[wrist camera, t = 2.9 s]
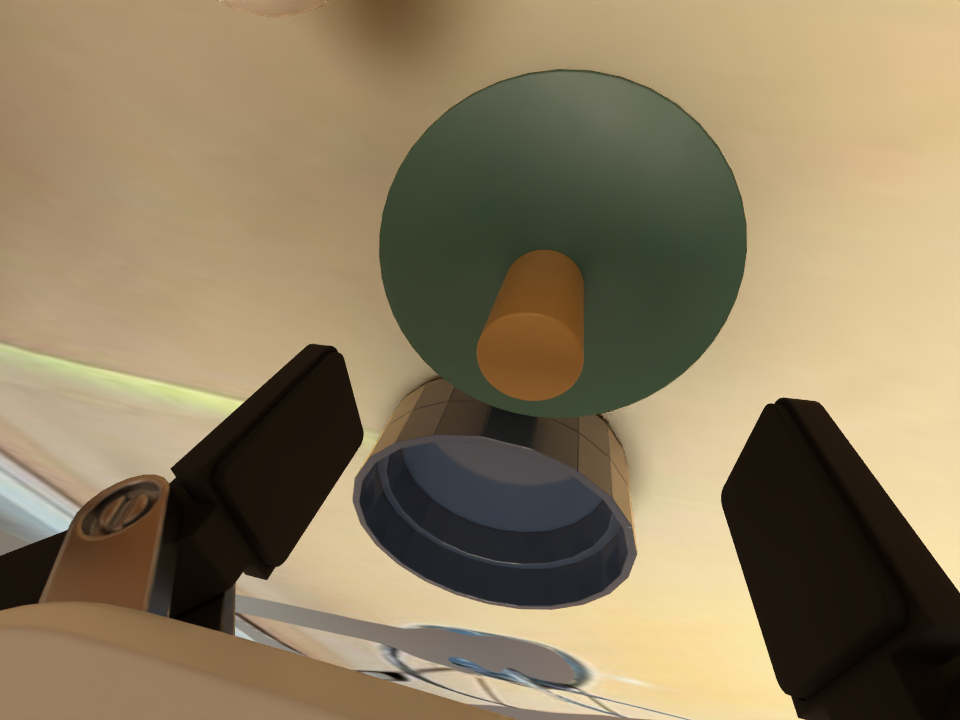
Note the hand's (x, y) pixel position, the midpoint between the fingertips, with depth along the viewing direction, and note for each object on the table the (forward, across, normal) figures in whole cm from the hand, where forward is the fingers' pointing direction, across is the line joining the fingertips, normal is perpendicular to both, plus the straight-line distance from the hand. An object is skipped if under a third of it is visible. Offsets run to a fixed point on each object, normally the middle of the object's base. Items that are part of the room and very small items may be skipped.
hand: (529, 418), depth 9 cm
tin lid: (+8, 0, 0) cm, 8 cm away
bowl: (+13, +3, +17) cm, 21 cm away
